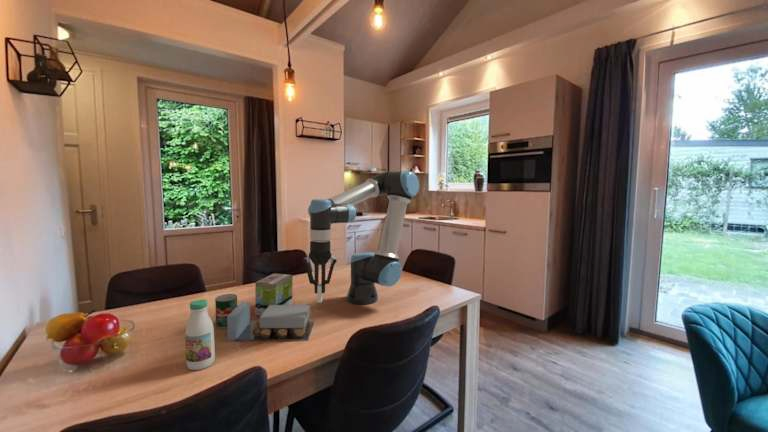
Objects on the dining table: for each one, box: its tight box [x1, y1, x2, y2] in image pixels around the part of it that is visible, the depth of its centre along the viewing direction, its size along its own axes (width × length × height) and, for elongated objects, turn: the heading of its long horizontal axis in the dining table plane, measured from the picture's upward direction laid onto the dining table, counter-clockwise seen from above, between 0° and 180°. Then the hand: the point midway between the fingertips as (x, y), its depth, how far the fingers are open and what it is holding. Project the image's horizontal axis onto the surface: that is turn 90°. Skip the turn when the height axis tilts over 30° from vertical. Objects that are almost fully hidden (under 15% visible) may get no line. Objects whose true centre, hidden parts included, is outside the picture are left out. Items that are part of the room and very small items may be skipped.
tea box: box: [254, 273, 294, 317], centre depth 143 cm, size 15×10×15 cm, turn 168°
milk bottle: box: [184, 299, 216, 371], centre depth 99 cm, size 8×8×20 cm
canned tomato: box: [214, 293, 238, 329], centre depth 128 cm, size 8×8×11 cm
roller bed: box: [233, 316, 315, 342], centre depth 123 cm, size 26×15×4 cm, turn 94°
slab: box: [259, 304, 311, 328], centre depth 123 cm, size 16×12×4 cm
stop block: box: [226, 301, 251, 342], centre depth 122 cm, size 3×14×9 cm, turn 4°
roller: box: [253, 321, 263, 337], centre depth 123 cm, size 10×3×3 cm
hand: (319, 301), depth 123 cm, fingers closed
